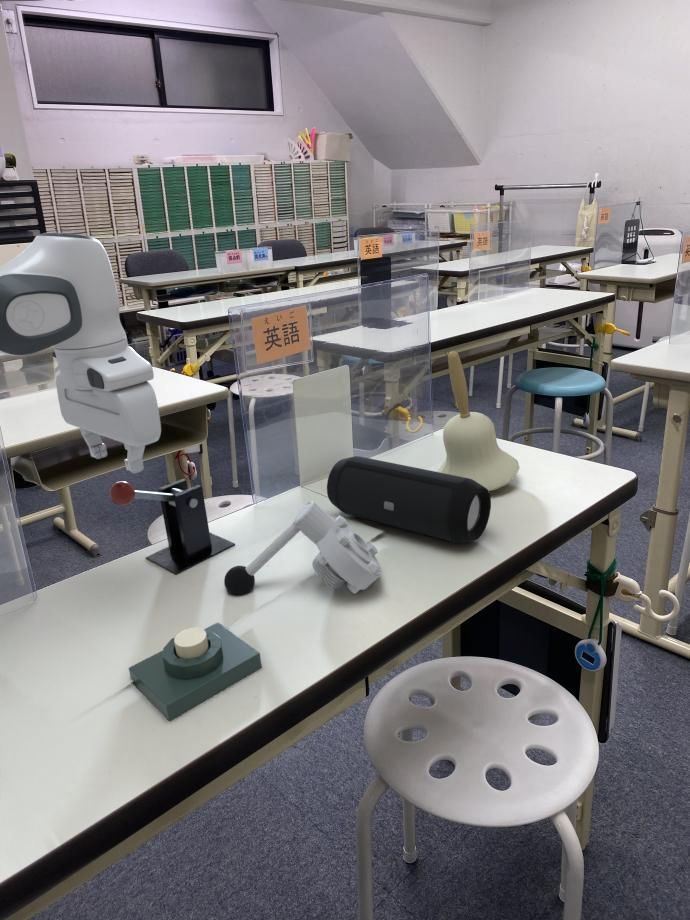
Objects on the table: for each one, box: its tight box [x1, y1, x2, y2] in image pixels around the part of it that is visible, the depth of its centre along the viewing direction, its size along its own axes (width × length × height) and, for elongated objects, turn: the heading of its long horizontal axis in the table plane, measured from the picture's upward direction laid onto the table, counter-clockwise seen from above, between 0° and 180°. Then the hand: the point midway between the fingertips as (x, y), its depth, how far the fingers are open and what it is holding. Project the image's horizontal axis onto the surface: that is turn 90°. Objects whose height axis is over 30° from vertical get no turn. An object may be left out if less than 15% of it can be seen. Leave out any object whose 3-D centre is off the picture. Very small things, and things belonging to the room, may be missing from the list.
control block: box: [128, 622, 263, 722], centre depth 78 cm, size 12×9×4 cm
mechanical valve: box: [223, 500, 383, 596], centre depth 94 cm, size 10×18×15 cm
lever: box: [108, 480, 186, 507], centre depth 98 cm, size 13×3×3 cm, turn 137°
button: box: [173, 627, 208, 659], centre depth 77 cm, size 4×4×2 cm
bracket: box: [145, 478, 236, 576], centre depth 103 cm, size 11×8×12 cm
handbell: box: [436, 350, 520, 492], centre depth 120 cm, size 15×15×25 cm
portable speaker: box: [326, 455, 492, 544], centre depth 109 cm, size 26×10×10 cm, turn 54°
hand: (117, 463), depth 93 cm, fingers open, 8 cm apart
